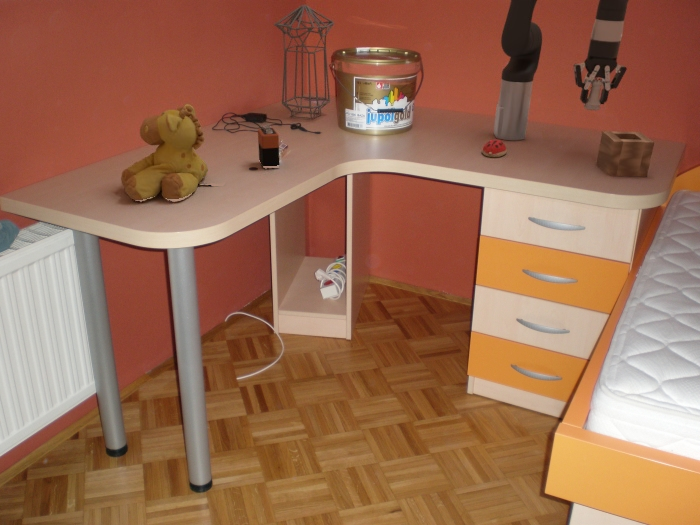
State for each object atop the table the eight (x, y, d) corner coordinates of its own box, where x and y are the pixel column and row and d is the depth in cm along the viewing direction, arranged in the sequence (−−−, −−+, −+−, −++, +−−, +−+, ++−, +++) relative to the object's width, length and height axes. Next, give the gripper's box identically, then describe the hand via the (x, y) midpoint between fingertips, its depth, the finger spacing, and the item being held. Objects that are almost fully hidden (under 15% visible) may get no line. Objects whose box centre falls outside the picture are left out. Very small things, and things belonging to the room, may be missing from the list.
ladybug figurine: (508, 150, 189) (509, 138, 188) (502, 160, 181) (504, 147, 180) (485, 148, 191) (486, 136, 190) (478, 157, 183) (480, 145, 182)
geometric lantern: (336, 113, 225) (336, 4, 210) (317, 124, 212) (316, 8, 197) (294, 109, 230) (292, 1, 215) (273, 119, 217) (269, 5, 202)
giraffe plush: (118, 181, 160) (107, 102, 152) (215, 170, 169) (209, 94, 160) (129, 210, 143) (116, 122, 135) (235, 196, 152) (230, 113, 144)
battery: (275, 161, 176) (273, 124, 172) (280, 168, 170) (278, 130, 166) (258, 162, 175) (257, 125, 171) (263, 170, 169) (261, 131, 165)
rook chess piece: (601, 111, 178) (607, 81, 175) (584, 109, 179) (589, 80, 176) (599, 107, 182) (605, 78, 179) (582, 106, 183) (588, 76, 179)
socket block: (607, 175, 170) (614, 141, 166) (596, 163, 179) (602, 131, 175) (646, 176, 170) (654, 142, 166) (633, 164, 179) (640, 132, 175)
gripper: (628, 37, 175) (614, 101, 183) (574, 34, 176) (563, 98, 184) (638, 41, 169) (623, 107, 177) (582, 39, 169) (569, 105, 177)
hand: (592, 102), depth 180 cm, fingers closed on rook chess piece, 4 cm apart
